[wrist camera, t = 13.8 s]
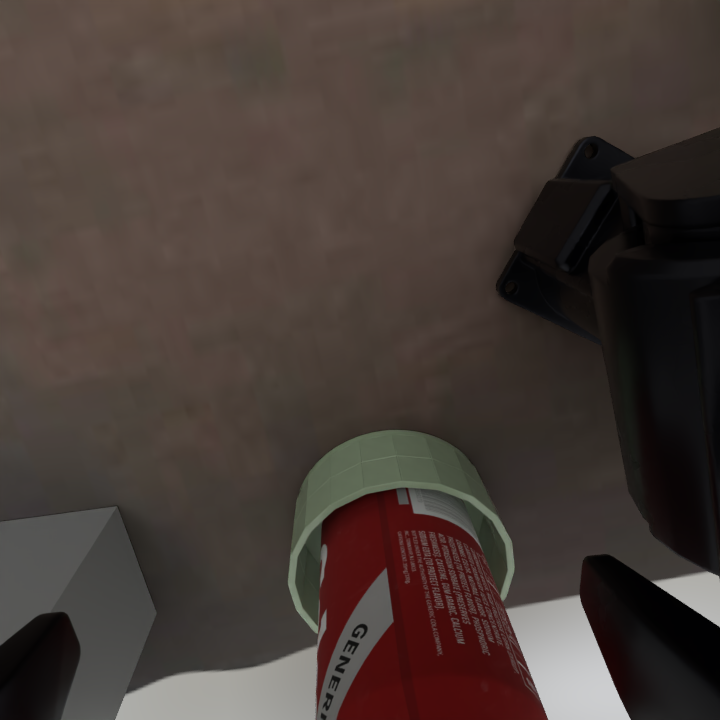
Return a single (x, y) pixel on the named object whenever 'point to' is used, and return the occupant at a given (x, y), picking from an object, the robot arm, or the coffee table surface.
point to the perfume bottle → (80, 598)
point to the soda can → (414, 617)
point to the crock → (379, 473)
